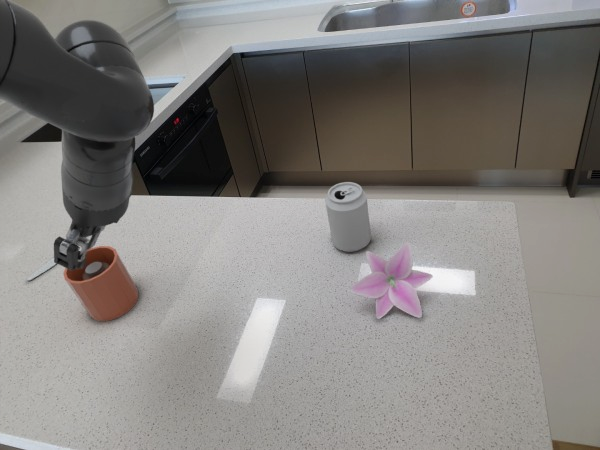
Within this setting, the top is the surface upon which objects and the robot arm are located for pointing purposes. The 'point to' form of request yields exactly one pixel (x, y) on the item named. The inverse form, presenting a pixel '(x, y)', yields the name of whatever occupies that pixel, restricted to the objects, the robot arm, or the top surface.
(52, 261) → the butter knife
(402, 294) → the lily
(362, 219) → the can
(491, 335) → the top surface
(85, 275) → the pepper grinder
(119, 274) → the terracotta plant pot
